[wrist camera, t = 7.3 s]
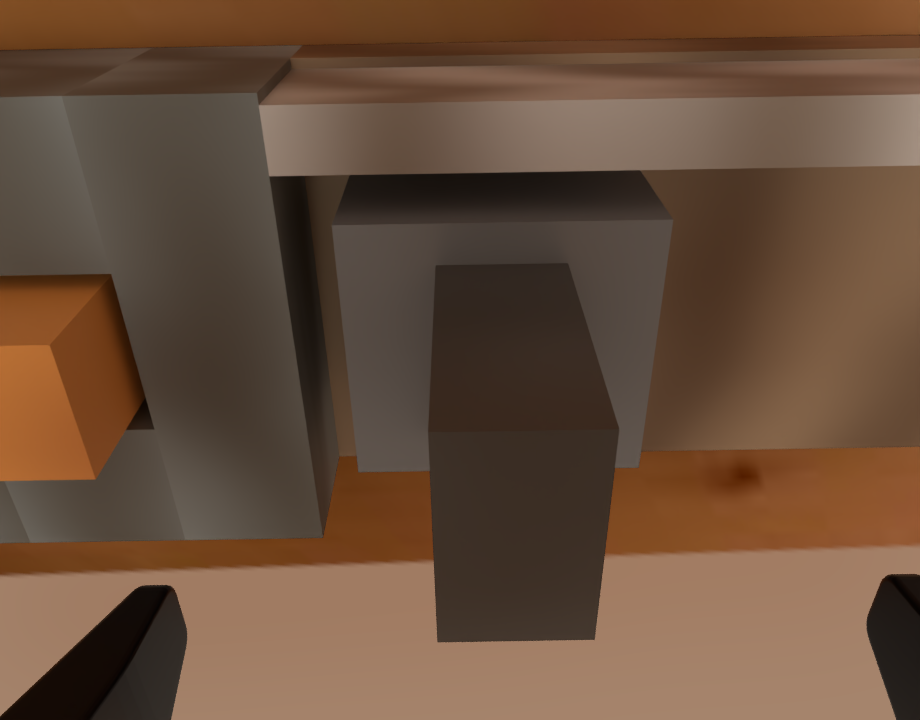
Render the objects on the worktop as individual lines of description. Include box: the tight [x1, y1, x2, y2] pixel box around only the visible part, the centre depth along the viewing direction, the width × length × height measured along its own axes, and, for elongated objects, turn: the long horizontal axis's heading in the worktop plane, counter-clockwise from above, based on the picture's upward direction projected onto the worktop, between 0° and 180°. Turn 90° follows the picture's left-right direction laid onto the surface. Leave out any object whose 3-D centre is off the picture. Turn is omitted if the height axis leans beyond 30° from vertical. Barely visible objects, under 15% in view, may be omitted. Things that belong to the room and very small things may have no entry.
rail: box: [0, 35, 920, 543], centre depth 17 cm, size 26×10×4 cm, turn 91°
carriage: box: [332, 170, 673, 642], centre depth 14 cm, size 6×6×8 cm
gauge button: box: [0, 274, 145, 481], centre depth 15 cm, size 3×3×4 cm
